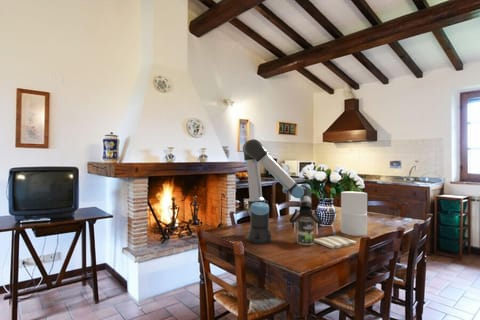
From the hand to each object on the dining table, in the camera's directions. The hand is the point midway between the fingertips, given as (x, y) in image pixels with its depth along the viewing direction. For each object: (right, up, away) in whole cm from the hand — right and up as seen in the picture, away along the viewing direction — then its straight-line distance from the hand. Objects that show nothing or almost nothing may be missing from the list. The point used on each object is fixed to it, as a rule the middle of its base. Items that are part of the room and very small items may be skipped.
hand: (305, 232), depth 180 cm
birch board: (+18, -7, +2) cm, 20 cm away
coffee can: (0, -7, +2) cm, 7 cm away
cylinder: (+40, -7, +27) cm, 49 cm away
